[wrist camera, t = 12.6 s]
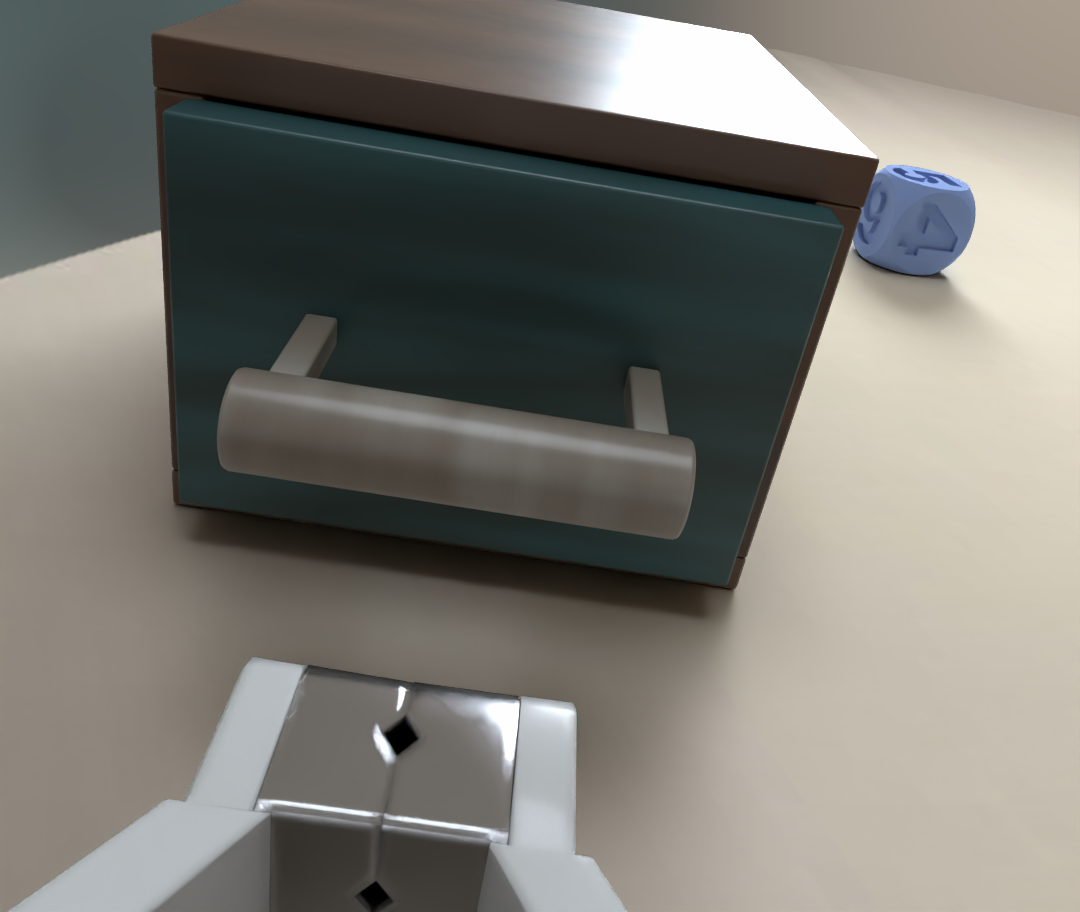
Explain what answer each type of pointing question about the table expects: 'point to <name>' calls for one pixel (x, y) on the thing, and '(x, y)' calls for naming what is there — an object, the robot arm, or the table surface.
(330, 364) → the drawer
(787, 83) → the cabinet
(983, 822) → the table surface
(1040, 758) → the table surface
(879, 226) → the decorative dice
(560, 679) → the table surface
